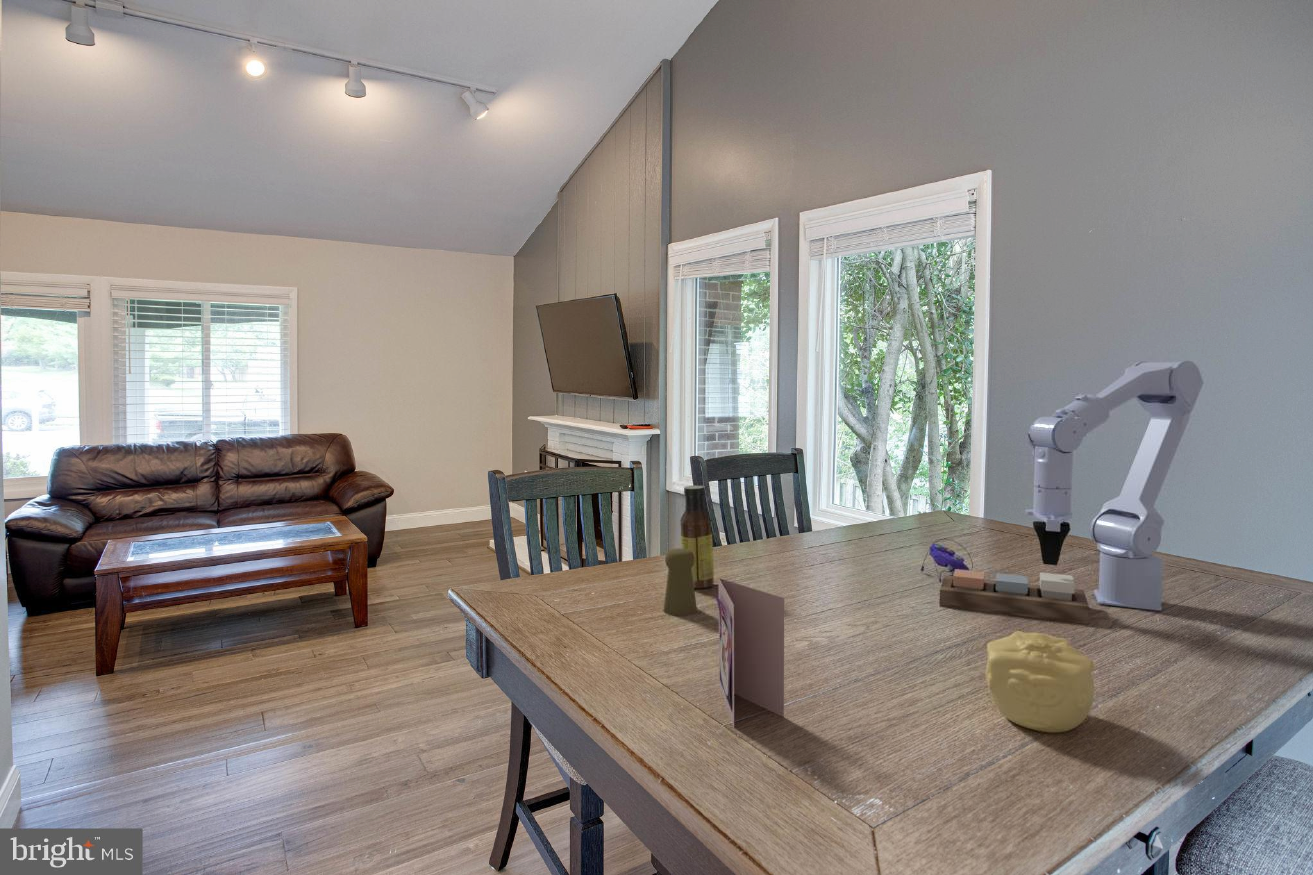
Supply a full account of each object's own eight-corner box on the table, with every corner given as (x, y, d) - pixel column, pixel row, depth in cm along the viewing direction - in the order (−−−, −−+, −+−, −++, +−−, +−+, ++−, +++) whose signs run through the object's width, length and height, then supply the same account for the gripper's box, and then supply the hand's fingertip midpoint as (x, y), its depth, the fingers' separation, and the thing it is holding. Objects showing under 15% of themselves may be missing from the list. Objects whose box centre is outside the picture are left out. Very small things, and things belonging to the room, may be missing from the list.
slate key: (1026, 594, 130) (1027, 576, 130) (1027, 602, 126) (1027, 583, 125) (995, 591, 132) (996, 573, 132) (995, 599, 128) (995, 580, 128)
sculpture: (977, 727, 86) (979, 639, 85) (994, 690, 96) (996, 610, 95) (1089, 754, 80) (1093, 659, 79) (1095, 711, 89) (1099, 626, 88)
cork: (694, 616, 126) (694, 554, 125) (660, 614, 127) (659, 553, 126) (699, 605, 132) (699, 546, 131) (666, 603, 133) (666, 544, 132)
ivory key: (1071, 594, 127) (1072, 575, 127) (1073, 602, 123) (1074, 583, 122) (1039, 591, 129) (1040, 572, 129) (1040, 599, 125) (1041, 579, 124)
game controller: (989, 560, 146) (952, 556, 142) (972, 595, 148) (935, 591, 144) (955, 536, 155) (920, 531, 151) (940, 569, 157) (905, 565, 153)
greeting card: (712, 686, 98) (712, 578, 96) (767, 684, 98) (767, 576, 97) (726, 727, 86) (726, 605, 85) (788, 725, 87) (788, 603, 86)
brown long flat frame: (1082, 606, 129) (1083, 589, 128) (1088, 624, 120) (1088, 606, 119) (944, 590, 139) (944, 575, 138) (939, 605, 130) (939, 589, 129)
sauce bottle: (714, 581, 147) (713, 484, 145) (713, 590, 141) (713, 489, 139) (682, 580, 147) (681, 484, 146) (680, 589, 141) (679, 489, 139)
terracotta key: (983, 590, 133) (984, 572, 133) (982, 597, 129) (983, 579, 128) (954, 586, 135) (955, 569, 135) (952, 594, 131) (953, 575, 131)
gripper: (1026, 479, 133) (1024, 551, 134) (1026, 491, 120) (1024, 571, 121) (1070, 481, 130) (1067, 555, 131) (1075, 494, 117) (1072, 576, 118)
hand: (1049, 563), depth 126 cm, fingers closed
